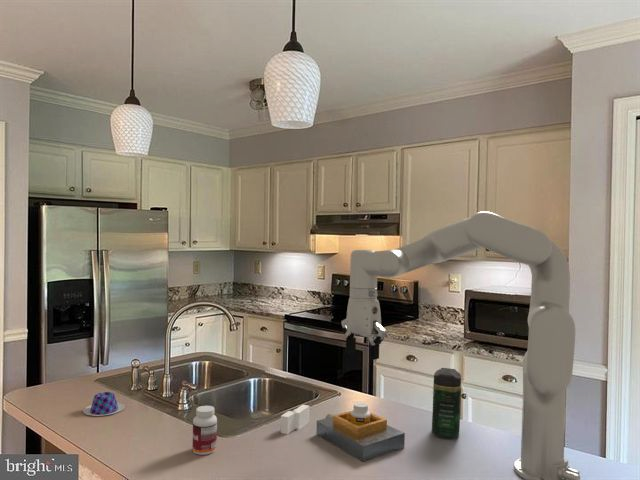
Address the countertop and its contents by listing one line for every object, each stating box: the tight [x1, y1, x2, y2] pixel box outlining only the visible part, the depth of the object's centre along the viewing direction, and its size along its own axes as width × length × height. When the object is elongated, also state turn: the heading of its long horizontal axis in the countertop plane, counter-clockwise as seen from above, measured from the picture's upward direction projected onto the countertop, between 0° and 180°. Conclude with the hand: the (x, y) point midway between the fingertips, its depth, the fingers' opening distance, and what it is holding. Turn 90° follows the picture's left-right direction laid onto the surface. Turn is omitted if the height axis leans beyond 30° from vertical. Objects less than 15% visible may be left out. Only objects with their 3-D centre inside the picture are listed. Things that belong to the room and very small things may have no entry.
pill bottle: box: [191, 405, 218, 456], centre depth 125 cm, size 6×6×11 cm
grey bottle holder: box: [315, 410, 406, 463], centre depth 135 cm, size 24×15×6 cm, turn 37°
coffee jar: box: [431, 367, 462, 440], centre depth 141 cm, size 10×8×19 cm
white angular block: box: [280, 404, 311, 435], centre depth 142 cm, size 15×11×6 cm
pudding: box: [82, 391, 125, 417], centre depth 152 cm, size 12×12×5 cm
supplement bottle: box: [350, 401, 371, 426], centre depth 134 cm, size 6×6×10 cm
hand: (362, 355), depth 133 cm, fingers open, 9 cm apart
